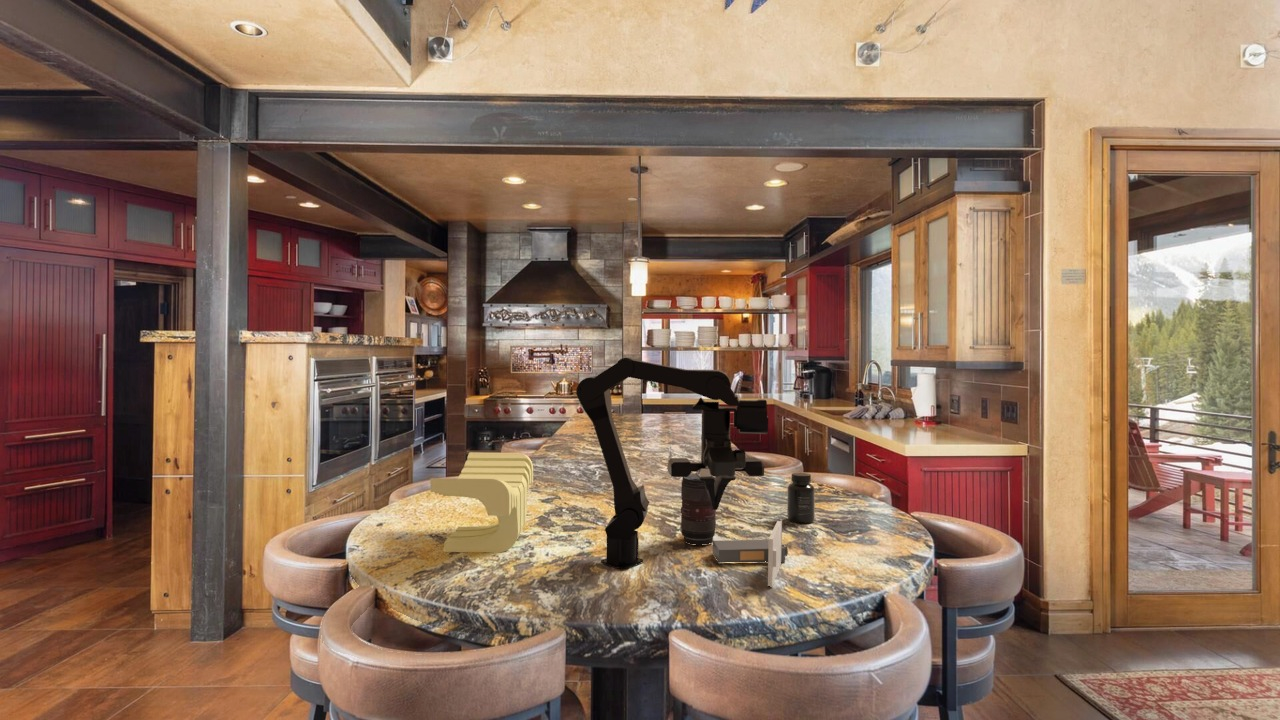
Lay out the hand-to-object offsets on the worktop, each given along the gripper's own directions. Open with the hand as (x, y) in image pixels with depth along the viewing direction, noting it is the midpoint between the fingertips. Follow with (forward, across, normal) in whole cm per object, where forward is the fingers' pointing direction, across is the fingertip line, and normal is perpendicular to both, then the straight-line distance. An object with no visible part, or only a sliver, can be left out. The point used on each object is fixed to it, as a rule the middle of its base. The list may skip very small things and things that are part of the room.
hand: (714, 509), depth 127 cm
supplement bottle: (+12, +30, +32) cm, 46 cm away
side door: (+12, +11, -5) cm, 17 cm away
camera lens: (+12, 0, +17) cm, 21 cm away
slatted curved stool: (+12, -48, +20) cm, 53 cm away
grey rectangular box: (+12, +9, +5) cm, 16 cm away
